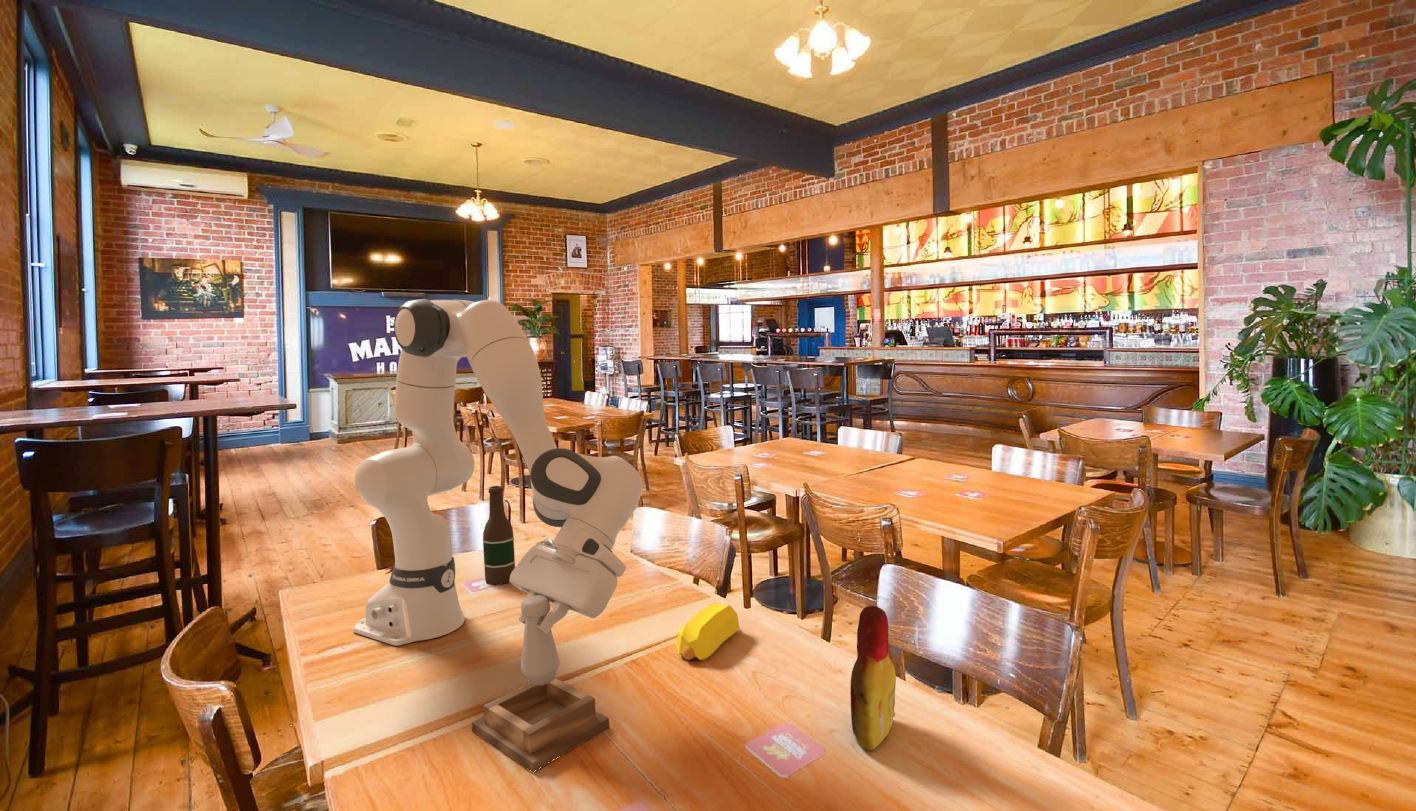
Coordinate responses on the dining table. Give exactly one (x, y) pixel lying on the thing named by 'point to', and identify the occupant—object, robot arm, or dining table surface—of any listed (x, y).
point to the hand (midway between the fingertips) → (532, 627)
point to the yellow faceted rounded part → (707, 631)
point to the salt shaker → (537, 643)
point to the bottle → (872, 680)
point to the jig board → (540, 722)
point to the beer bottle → (498, 541)
